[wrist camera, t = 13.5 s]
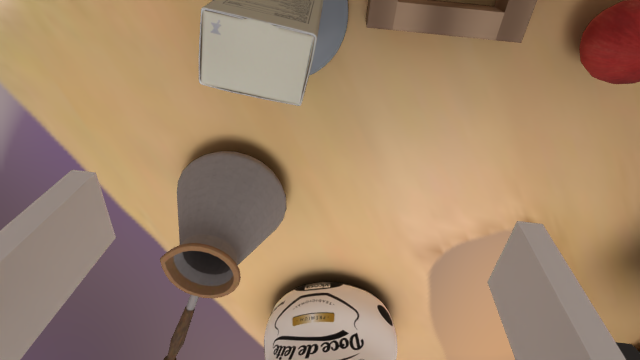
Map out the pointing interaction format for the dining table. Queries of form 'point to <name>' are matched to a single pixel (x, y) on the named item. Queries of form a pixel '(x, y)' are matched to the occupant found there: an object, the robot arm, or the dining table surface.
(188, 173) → the coffee pot
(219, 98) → the dining table surface
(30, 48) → the dining table surface
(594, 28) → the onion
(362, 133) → the dining table surface
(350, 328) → the milk container
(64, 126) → the dining table surface
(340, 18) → the coaster
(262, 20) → the skincare box
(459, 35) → the pocket holder
